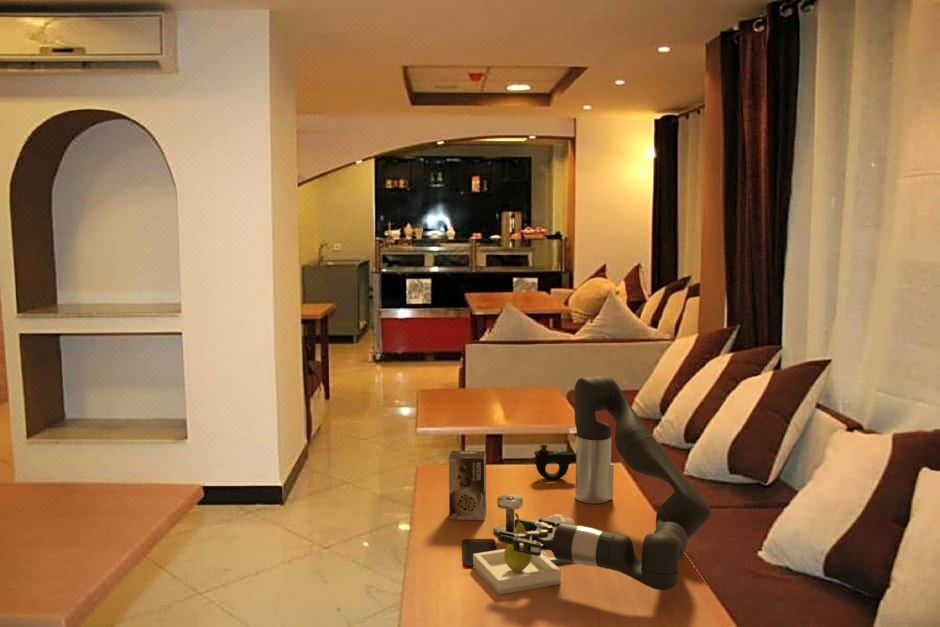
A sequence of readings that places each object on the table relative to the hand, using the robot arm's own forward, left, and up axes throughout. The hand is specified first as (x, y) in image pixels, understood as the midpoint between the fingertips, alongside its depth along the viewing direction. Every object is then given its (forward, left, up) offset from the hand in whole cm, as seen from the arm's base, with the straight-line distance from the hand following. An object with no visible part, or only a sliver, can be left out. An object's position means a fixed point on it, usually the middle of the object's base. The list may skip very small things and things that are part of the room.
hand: (507, 529), depth 176 cm
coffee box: (-4, -34, -10) cm, 36 cm away
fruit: (-1, +2, -9) cm, 9 cm away
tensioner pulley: (-9, -19, -10) cm, 24 cm away
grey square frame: (-15, -5, -10) cm, 19 cm away
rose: (-21, -16, -10) cm, 28 cm away
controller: (-38, -52, -10) cm, 66 cm away
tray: (-1, +2, -10) cm, 10 cm away
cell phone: (+2, -11, -10) cm, 15 cm away
